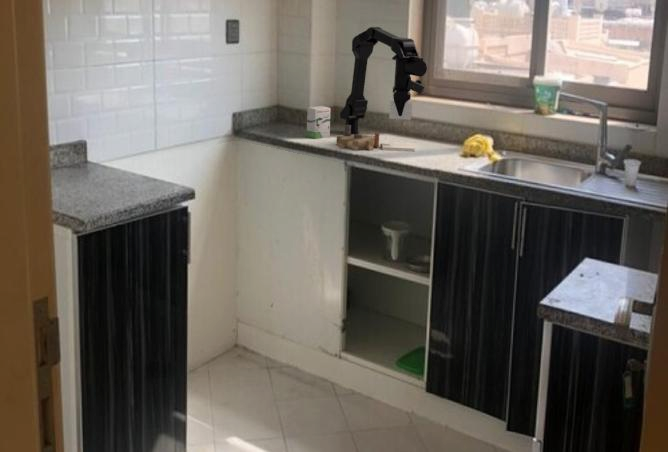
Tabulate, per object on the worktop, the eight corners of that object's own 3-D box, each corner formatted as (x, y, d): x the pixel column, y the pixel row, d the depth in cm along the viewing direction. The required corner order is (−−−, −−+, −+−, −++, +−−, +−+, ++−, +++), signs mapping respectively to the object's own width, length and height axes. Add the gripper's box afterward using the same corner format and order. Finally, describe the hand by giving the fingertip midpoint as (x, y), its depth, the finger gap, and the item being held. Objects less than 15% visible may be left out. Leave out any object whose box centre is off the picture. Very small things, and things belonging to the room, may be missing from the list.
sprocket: (328, 145, 320) (328, 126, 318) (353, 139, 332) (354, 121, 330) (361, 151, 311) (362, 132, 309) (386, 145, 323) (387, 127, 321)
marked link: (389, 116, 321) (390, 100, 319) (410, 117, 321) (411, 101, 319) (389, 118, 317) (390, 102, 315) (410, 119, 317) (412, 103, 315)
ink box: (314, 139, 332) (315, 109, 329) (305, 137, 336) (306, 107, 332) (330, 136, 338) (331, 107, 334) (321, 134, 341) (322, 105, 338)
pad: (382, 143, 328) (382, 141, 327) (413, 145, 327) (413, 142, 327) (382, 149, 317) (382, 146, 317) (414, 151, 317) (414, 148, 316)
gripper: (425, 77, 305) (422, 120, 309) (423, 71, 323) (420, 111, 327) (394, 76, 305) (392, 119, 310) (393, 69, 323) (391, 110, 328)
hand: (400, 115), depth 319 cm, fingers closed on marked link, 4 cm apart
